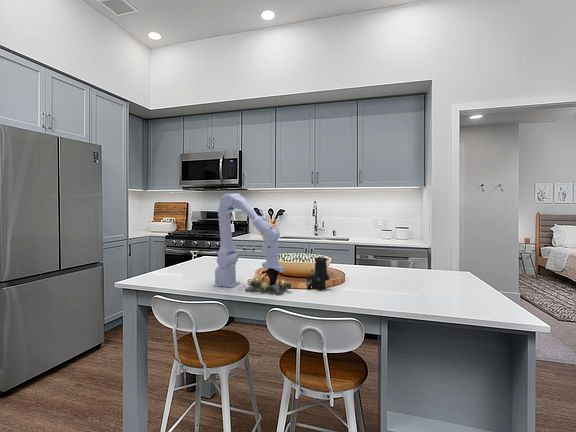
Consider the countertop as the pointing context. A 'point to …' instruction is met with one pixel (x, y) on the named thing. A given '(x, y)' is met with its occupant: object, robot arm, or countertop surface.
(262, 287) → the footscrew right
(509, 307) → the countertop surface
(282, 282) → the foot screw
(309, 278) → the scope
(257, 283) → the foot screw
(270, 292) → the leveling base
